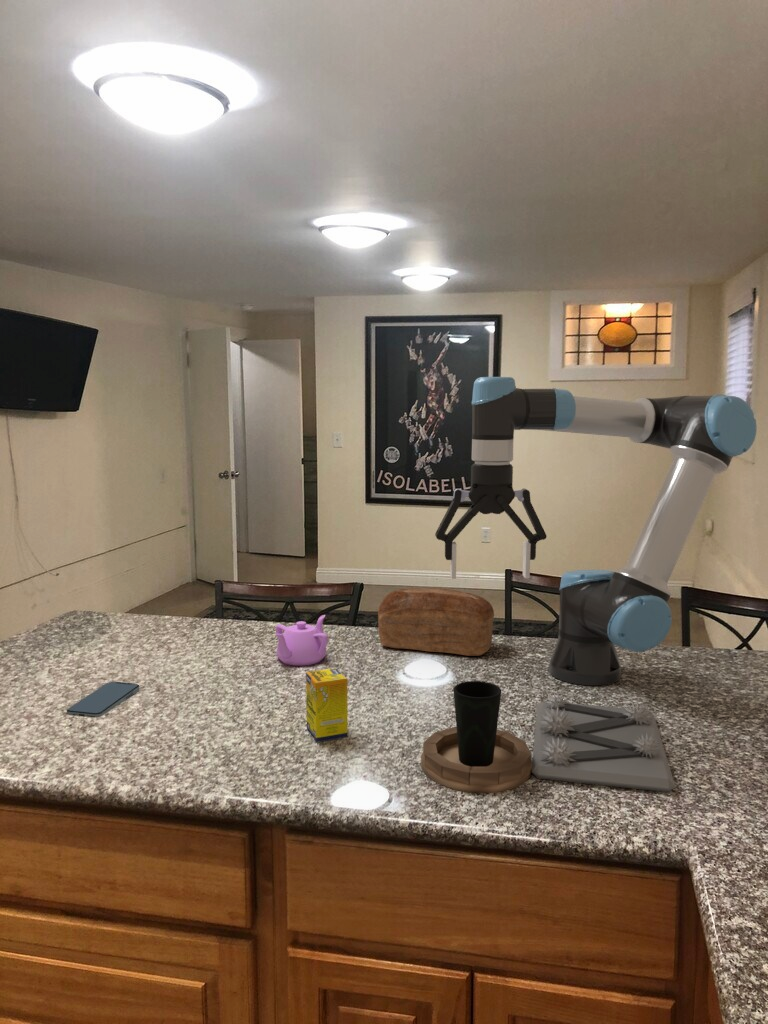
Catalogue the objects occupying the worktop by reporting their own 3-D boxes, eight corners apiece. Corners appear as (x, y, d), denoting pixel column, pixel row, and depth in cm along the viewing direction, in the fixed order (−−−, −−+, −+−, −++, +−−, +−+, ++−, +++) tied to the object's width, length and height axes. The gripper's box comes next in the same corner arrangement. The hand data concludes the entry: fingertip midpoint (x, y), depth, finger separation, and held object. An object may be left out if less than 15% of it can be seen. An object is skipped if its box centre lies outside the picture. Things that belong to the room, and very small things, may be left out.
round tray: (519, 741, 136) (520, 725, 135) (543, 792, 118) (543, 773, 117) (417, 742, 135) (417, 725, 135) (425, 793, 117) (425, 774, 117)
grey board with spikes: (675, 798, 117) (678, 754, 116) (531, 783, 122) (532, 740, 121) (653, 720, 146) (655, 684, 145) (537, 710, 151) (538, 675, 150)
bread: (488, 661, 178) (489, 601, 176) (372, 650, 186) (372, 591, 184) (496, 646, 189) (498, 589, 187) (387, 636, 198) (387, 581, 196)
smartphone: (63, 710, 147) (108, 680, 161) (64, 718, 147) (109, 688, 162) (99, 713, 145) (141, 683, 160) (99, 722, 146) (141, 691, 160)
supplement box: (305, 729, 140) (305, 671, 139) (337, 724, 143) (336, 667, 141) (316, 742, 135) (315, 682, 133) (348, 737, 137) (348, 677, 136)
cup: (498, 772, 122) (499, 699, 120) (449, 768, 123) (450, 695, 122) (501, 751, 129) (502, 682, 128) (455, 747, 131) (456, 679, 129)
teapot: (325, 649, 187) (325, 613, 186) (329, 668, 173) (329, 630, 172) (275, 651, 185) (275, 615, 184) (275, 670, 171) (275, 632, 170)
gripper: (555, 461, 145) (551, 572, 148) (422, 461, 144) (421, 572, 147) (565, 464, 137) (561, 581, 140) (425, 464, 137) (424, 581, 140)
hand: (489, 577), depth 144 cm, fingers open, 13 cm apart
